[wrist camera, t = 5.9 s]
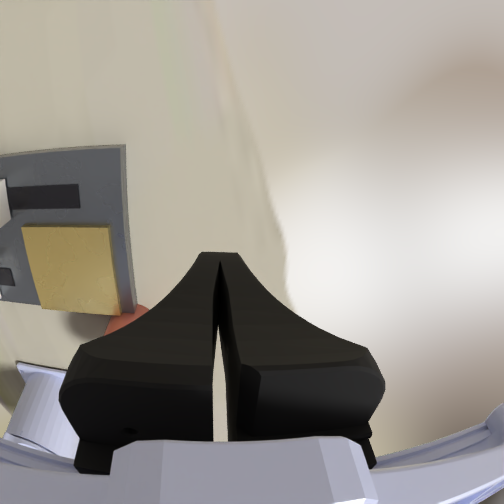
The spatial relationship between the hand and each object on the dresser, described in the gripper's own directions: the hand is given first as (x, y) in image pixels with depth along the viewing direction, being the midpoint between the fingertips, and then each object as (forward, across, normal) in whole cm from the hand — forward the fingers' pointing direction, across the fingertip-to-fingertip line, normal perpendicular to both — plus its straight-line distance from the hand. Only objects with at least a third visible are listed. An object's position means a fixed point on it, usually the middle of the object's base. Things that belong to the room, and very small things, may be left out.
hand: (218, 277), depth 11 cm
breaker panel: (+10, +14, +3) cm, 18 cm away
